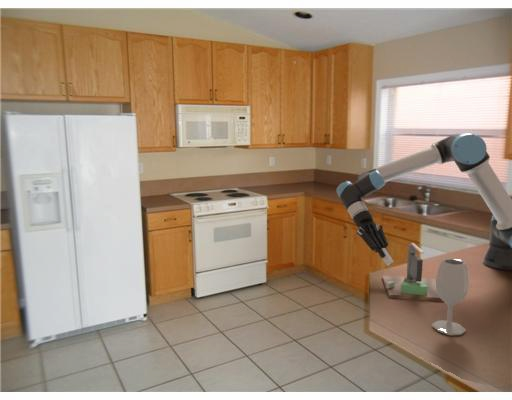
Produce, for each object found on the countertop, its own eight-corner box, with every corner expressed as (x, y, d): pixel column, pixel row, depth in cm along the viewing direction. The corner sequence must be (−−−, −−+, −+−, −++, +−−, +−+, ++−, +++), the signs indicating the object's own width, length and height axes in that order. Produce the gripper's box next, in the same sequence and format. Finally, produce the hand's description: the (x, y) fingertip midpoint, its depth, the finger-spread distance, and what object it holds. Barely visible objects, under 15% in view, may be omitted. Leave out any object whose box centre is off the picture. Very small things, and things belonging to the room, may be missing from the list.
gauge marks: (428, 291, 148) (428, 283, 147) (426, 296, 143) (426, 288, 143) (387, 284, 154) (388, 277, 154) (384, 289, 150) (385, 281, 149)
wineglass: (426, 326, 124) (430, 259, 121) (447, 320, 127) (452, 255, 124) (449, 339, 116) (455, 267, 113) (471, 333, 119) (477, 263, 116)
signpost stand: (402, 278, 160) (404, 241, 158) (414, 279, 160) (416, 241, 157) (413, 292, 146) (416, 251, 144) (426, 293, 146) (429, 251, 143)
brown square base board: (432, 281, 161) (432, 278, 161) (446, 301, 142) (446, 298, 142) (382, 278, 165) (382, 275, 164) (389, 297, 145) (389, 294, 145)
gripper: (366, 218, 176) (396, 265, 164) (343, 221, 169) (373, 271, 158) (376, 207, 170) (407, 256, 159) (353, 210, 164) (384, 261, 152)
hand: (390, 263), depth 158 cm, fingers closed
